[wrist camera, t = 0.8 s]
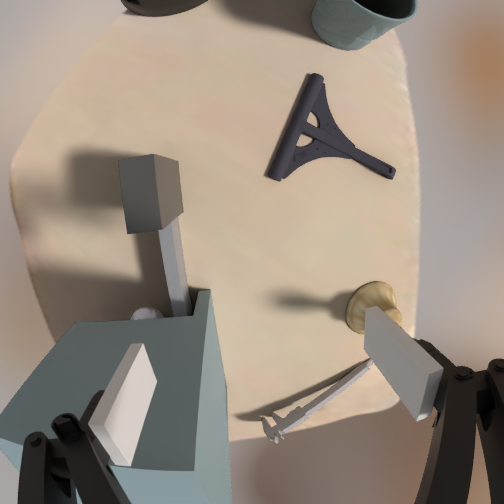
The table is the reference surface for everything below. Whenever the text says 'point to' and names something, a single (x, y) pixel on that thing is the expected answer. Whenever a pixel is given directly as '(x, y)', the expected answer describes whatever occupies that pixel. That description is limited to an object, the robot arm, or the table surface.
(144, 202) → the grey l-bracket
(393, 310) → the hand bell
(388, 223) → the table surface
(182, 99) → the table surface
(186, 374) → the cabinet
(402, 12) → the grey-green hollow cylinder
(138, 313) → the steel token
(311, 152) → the dark squeegee
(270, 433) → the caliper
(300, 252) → the table surface
